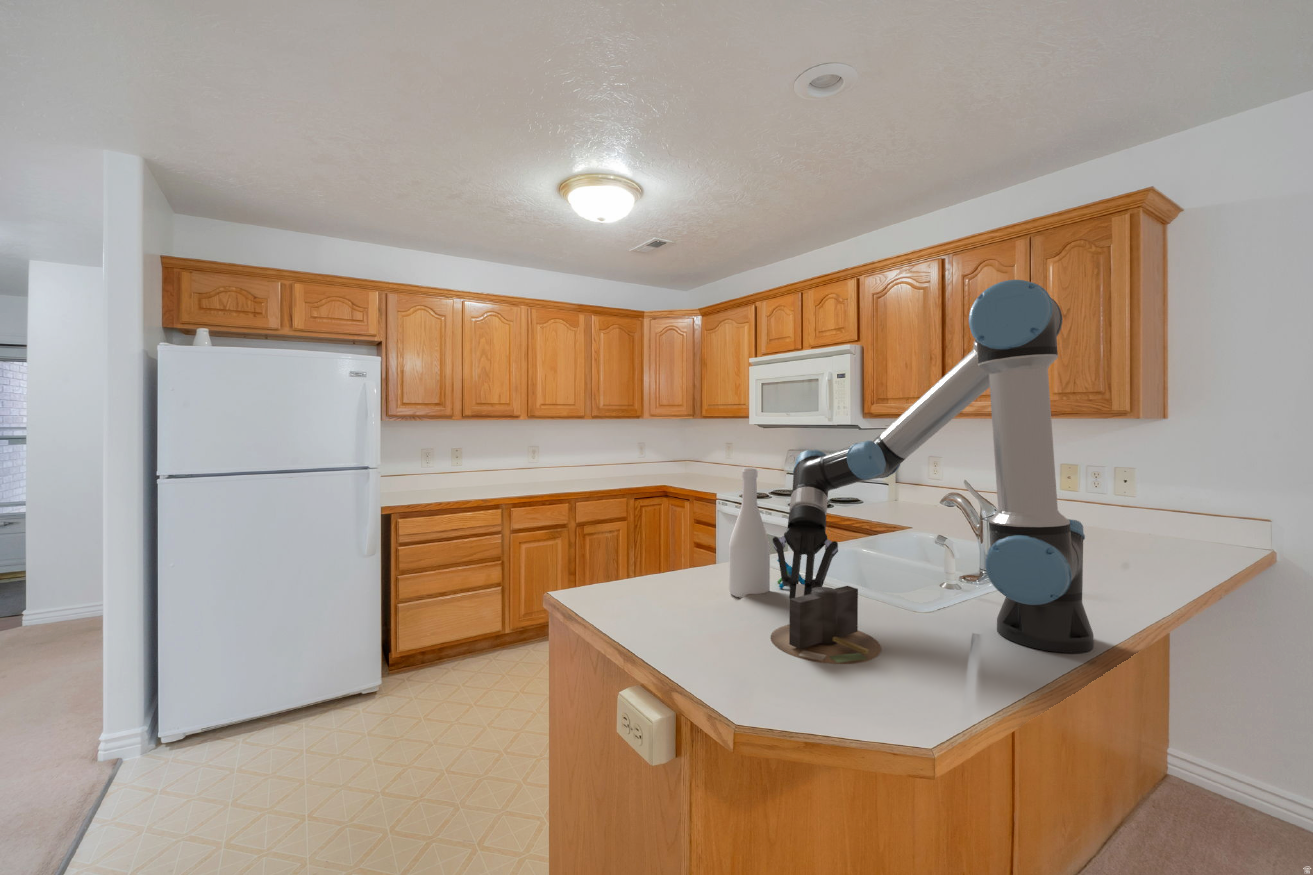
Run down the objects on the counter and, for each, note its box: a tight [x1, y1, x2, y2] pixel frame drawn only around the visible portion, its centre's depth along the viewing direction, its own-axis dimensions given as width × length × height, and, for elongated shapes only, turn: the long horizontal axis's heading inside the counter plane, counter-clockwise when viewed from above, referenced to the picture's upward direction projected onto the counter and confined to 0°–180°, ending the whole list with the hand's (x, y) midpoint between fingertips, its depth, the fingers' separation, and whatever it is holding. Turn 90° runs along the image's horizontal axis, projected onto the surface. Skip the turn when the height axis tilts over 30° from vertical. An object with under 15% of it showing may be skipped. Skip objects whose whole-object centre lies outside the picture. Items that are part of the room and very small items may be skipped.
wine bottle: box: [728, 467, 771, 599], centre depth 135 cm, size 10×10×30 cm
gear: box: [776, 559, 805, 590], centre depth 140 cm, size 11×6×10 cm
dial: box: [770, 624, 882, 665], centre depth 102 cm, size 19×19×2 cm
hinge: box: [788, 585, 868, 654], centre depth 99 cm, size 15×11×9 cm
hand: (798, 619), depth 103 cm, fingers closed
